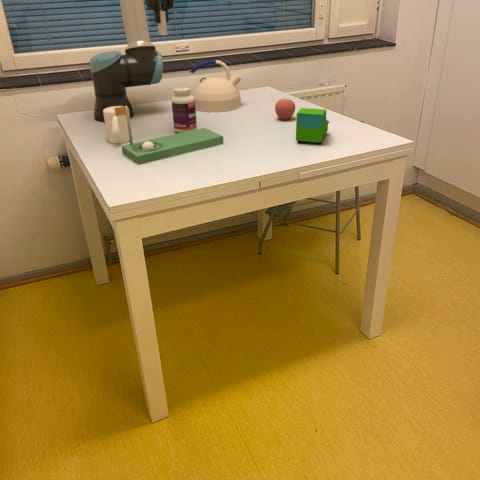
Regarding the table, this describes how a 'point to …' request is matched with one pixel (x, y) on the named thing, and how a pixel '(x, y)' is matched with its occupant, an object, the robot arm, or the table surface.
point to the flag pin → (124, 111)
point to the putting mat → (172, 145)
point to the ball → (147, 145)
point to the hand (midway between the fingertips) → (163, 34)
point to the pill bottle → (183, 110)
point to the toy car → (311, 125)
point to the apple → (285, 108)
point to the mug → (116, 126)
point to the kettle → (217, 91)
